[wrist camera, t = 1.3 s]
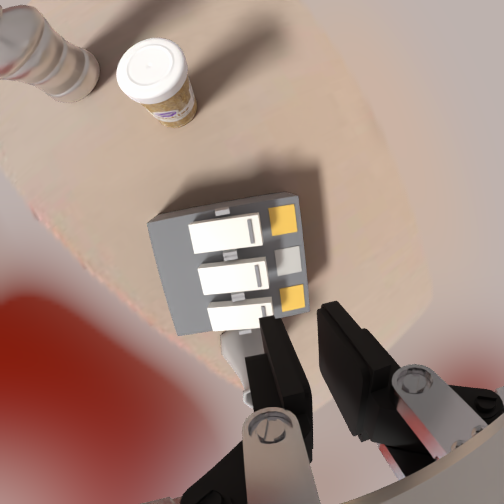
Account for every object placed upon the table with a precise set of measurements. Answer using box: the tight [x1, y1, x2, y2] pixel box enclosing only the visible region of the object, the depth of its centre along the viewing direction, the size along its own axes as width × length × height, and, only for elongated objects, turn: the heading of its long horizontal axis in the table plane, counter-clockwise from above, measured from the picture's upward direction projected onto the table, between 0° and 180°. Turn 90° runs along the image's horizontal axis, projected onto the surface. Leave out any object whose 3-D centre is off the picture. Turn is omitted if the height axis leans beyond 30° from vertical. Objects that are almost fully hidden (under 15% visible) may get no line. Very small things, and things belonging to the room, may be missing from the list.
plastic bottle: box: [0, 5, 100, 103], centre depth 14 cm, size 6×7×20 cm
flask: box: [220, 328, 264, 408], centre depth 31 cm, size 7×7×10 cm
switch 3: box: [207, 297, 274, 331], centre depth 27 cm, size 3×6×1 cm, turn 99°
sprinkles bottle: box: [116, 38, 197, 128], centre depth 20 cm, size 5×5×14 cm
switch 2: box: [198, 256, 270, 295], centre depth 26 cm, size 3×6×1 cm, turn 99°
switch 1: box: [188, 212, 263, 254], centre depth 25 cm, size 3×6×1 cm, turn 99°
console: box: [147, 192, 310, 336], centre depth 29 cm, size 12×14×7 cm
